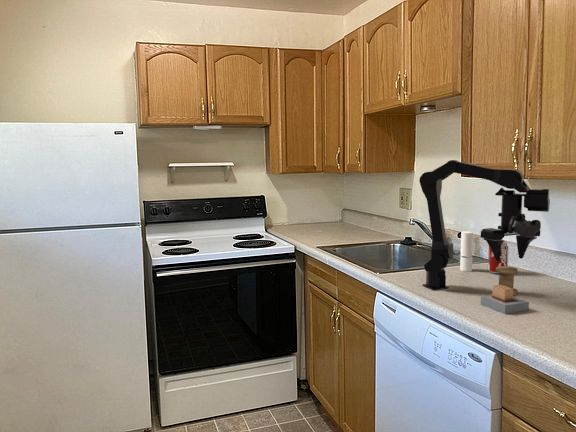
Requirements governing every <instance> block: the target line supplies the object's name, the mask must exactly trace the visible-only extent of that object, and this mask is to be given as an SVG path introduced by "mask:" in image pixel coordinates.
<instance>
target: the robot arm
mask: <svg viewBox="0 0 576 432" xmlns="http://www.w3.org/2000/svg"><path fill="white" fill-rule="evenodd" d="M454 173H455V174H459V175H464V176H468V177H473V178H476V179H482V180H487V181H489V182H493V183H494V184H496V185H499V186H500V189H498V191H497V192H495V193H494V195H495V196H501V212H498V215H497V216H498V217H500V225H497V228H493V227H487V228H483V229H482V228H481V230H480V238H482V239H483V241H486V243H487V244H488V247H489V246H490V248H491V250H492V252H493V255H494V257H495V259H496V261H500V254H501V245H502V243H503V242H504V241H505V240H503V239H504V238H505V237H507V236H509V237H510V236H515V239H516V246H517V247H516V248H517V254H518V259H521V260H522V259H523V258H524V256H525V254H526V252H527V249H528V247H529V245H530V243H531V242H533V241H534V240H536V239H537V238H538V237H540V236H541V228H542V227H541V226H542V223H541V221H540V220H539V219H533V220H527V219H526V215H525V213H523V211H522V209H523V208H525V209H526V210H527V211H528V212H542V213H543V212H544V213H546V212H548V213H549V211H550V205H551V203H550V202H551V199H550V189H549V188H543V189H539V188H538V189H536V188H535V189H533V188H532V189H531V187H529V185H528V184H527V183H526V182H525V176H524V174H523V172H522V171H520V170H519V169H514V168H512V169H509V168H505V169H504V168H491V167H487V166H482V165H479V164H478V165H477V164H473V163H467V162H463V161H459V160H456V159H451V160H448V161H447V162H446V163H444V164H443V165H441V166H438V167H437V168H435V169H434V170H431V171H426V172H424V173H422V174H421V176H420V177H419V185H420V188H421V192H422V193H423V195H424V197H425V199H426V204H427V209H428V210H427V211H428V216H429V223H430V229H431V237H432V244H431V249H430V252H431V253H430V260H428V261H427V262H426V263H425V264H423V268H424V271H425V272H426V273H425V275H426V276H425V277H426V279H425V283H423V284H422V286H423V287H424V288H427V289H429V290H431V291H437V290H446V289H450V287H449V285H446V283H447V281H446V280H447V277H446V274H447V273H446V270H445V269H446V268H447V266H448V265H449V264H450V263H452V261H453V259H454V255H456V253H455V251H454V242H450V243H449V241H448V239H447V236H446V235H447V233H446V229H445V221H444V215H443V208H442V201H441V195H442V188H443V181H444V180H446V179H447V178H450V176H452V175H453V174H454ZM504 188H506V189H504ZM508 189H509V190H508ZM516 191H517V192H518V193H517V192H516Z"/></svg>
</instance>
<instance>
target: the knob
mask: <svg viewBox="0 0 576 432" xmlns="http://www.w3.org/2000/svg"><path fill="white" fill-rule="evenodd" d="M518 270H519V269H518V268H517V267H513V266H508V267H507V266H499V267H496V271H497V272H499V274H498V285H500V284H501V285H504V286H507V287H510V288H513V296H517V295H518V294H519V293H518V291H519V290H518V289H517V288H514V287H515V286H514V283H515V281H514V280H515V279H514V278H515V274H518Z"/></svg>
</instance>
